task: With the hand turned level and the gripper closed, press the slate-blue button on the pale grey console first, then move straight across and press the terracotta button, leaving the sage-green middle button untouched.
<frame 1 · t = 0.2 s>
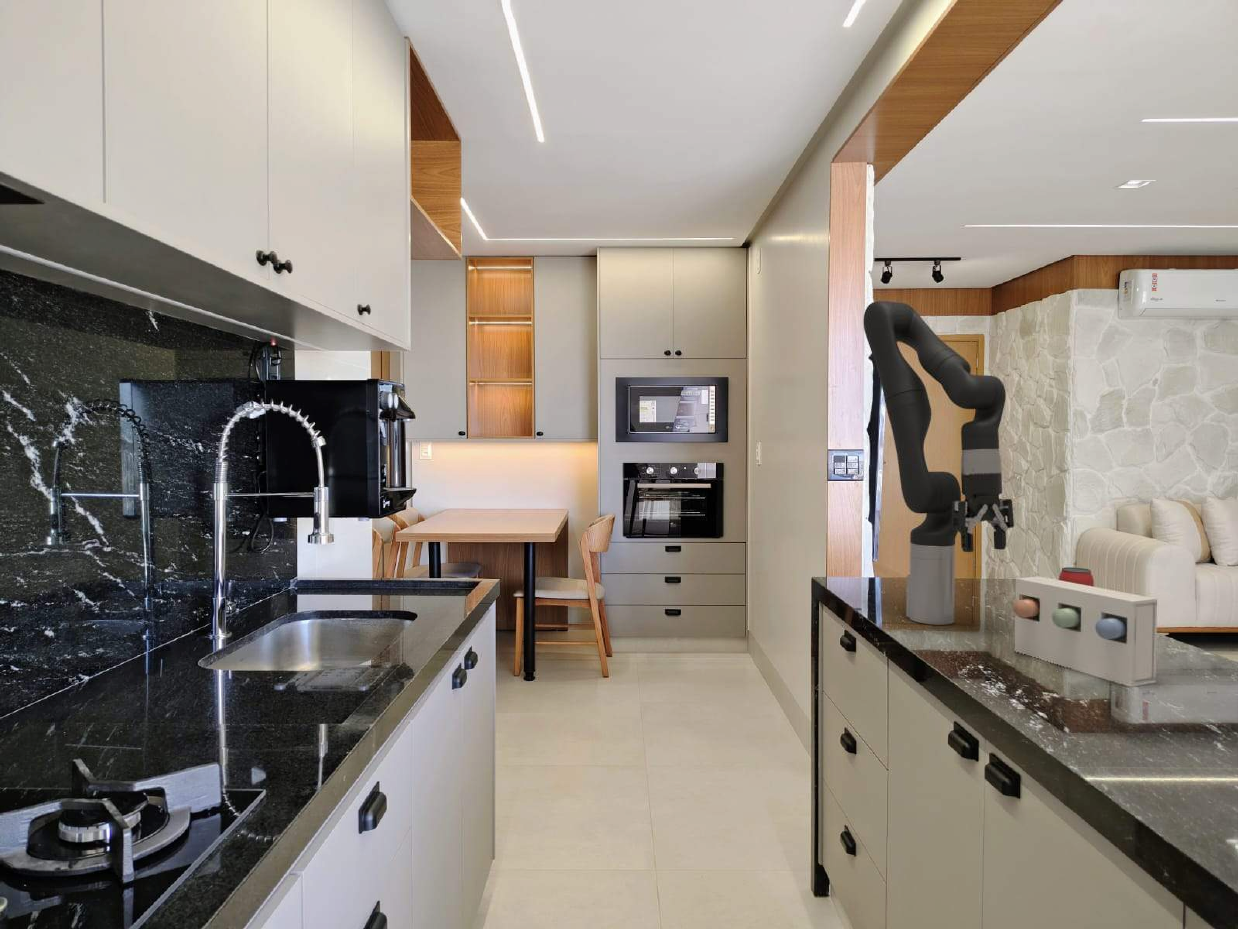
hand: (984, 550, 154), 18 cm above the worktop, tool pointing down, fingers open, 8 cm apart
console: (1080, 666, 133), on the worktop
terracotta button: (1027, 608, 139), point 9 cm above the worktop, slide at 0.0 cm
beer can: (1075, 624, 164), on the worktop
sage button: (1067, 617, 131), point 9 cm above the worktop, slide at 0.0 cm
blue button: (1112, 628, 124), point 9 cm above the worktop, slide at 0.0 cm
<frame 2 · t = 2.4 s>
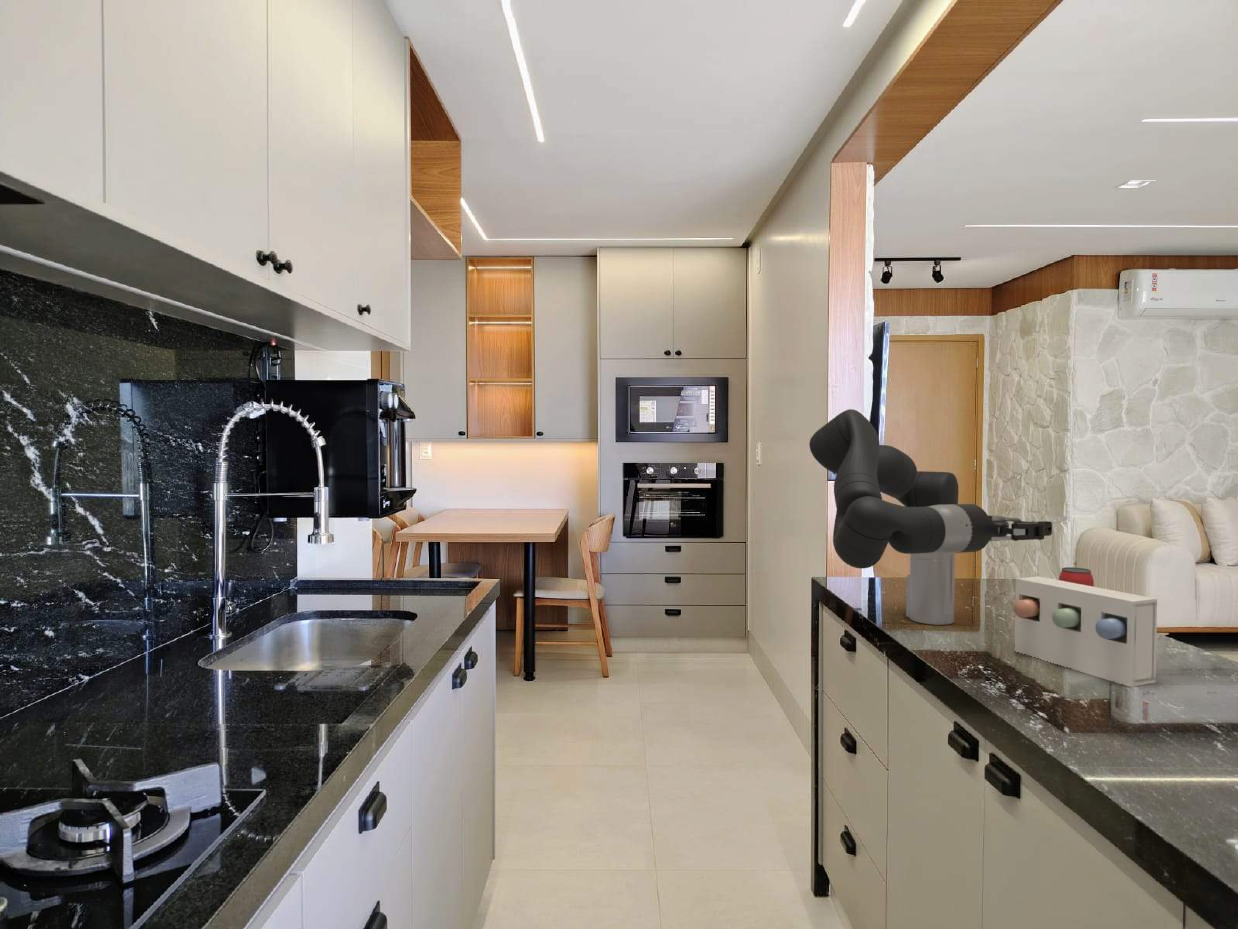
hand: (1026, 525, 121), 26 cm above the worktop, tool horizontal, fingers open, 8 cm apart
nothing on the worktop moved.
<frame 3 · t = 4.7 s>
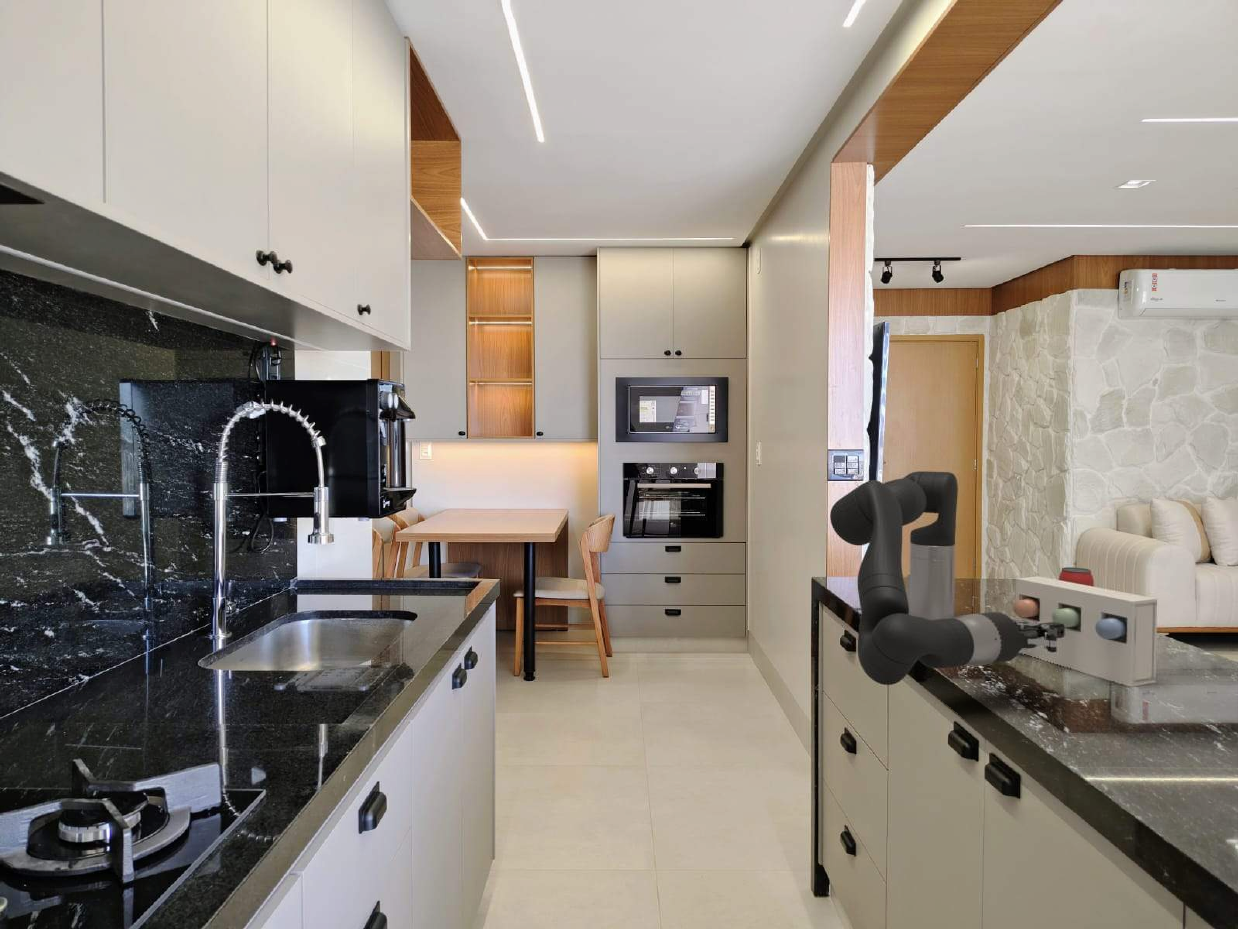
hand: (1060, 629, 120), 10 cm above the worktop, tool horizontal, fingers closed
nothing on the worktop moved.
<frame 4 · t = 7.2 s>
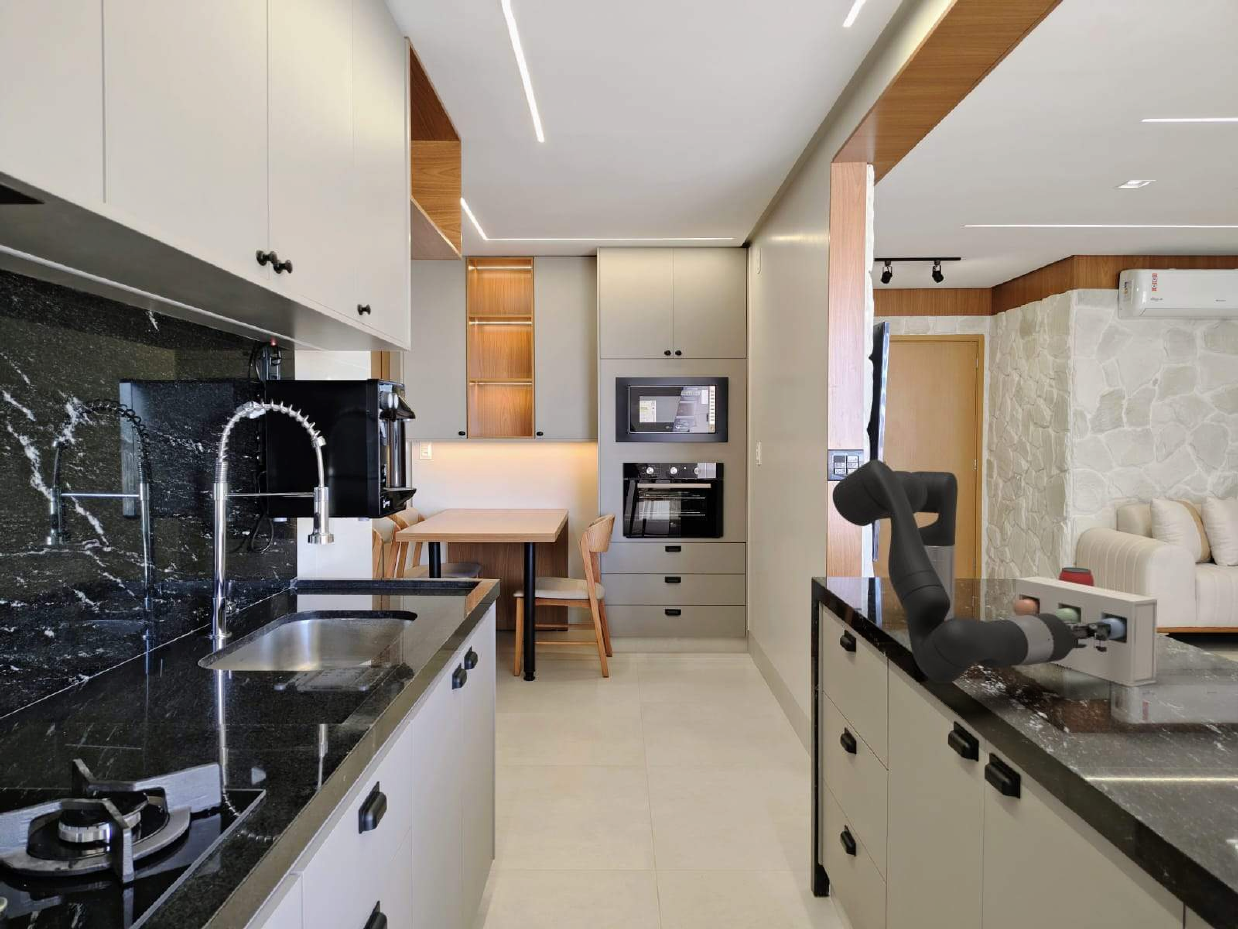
hand: (1106, 629, 124), 9 cm above the worktop, tool horizontal, fingers closed
blue button: (1114, 628, 124), point 9 cm above the worktop, slide at 0.4 cm, touching gripper
everything else where it was.
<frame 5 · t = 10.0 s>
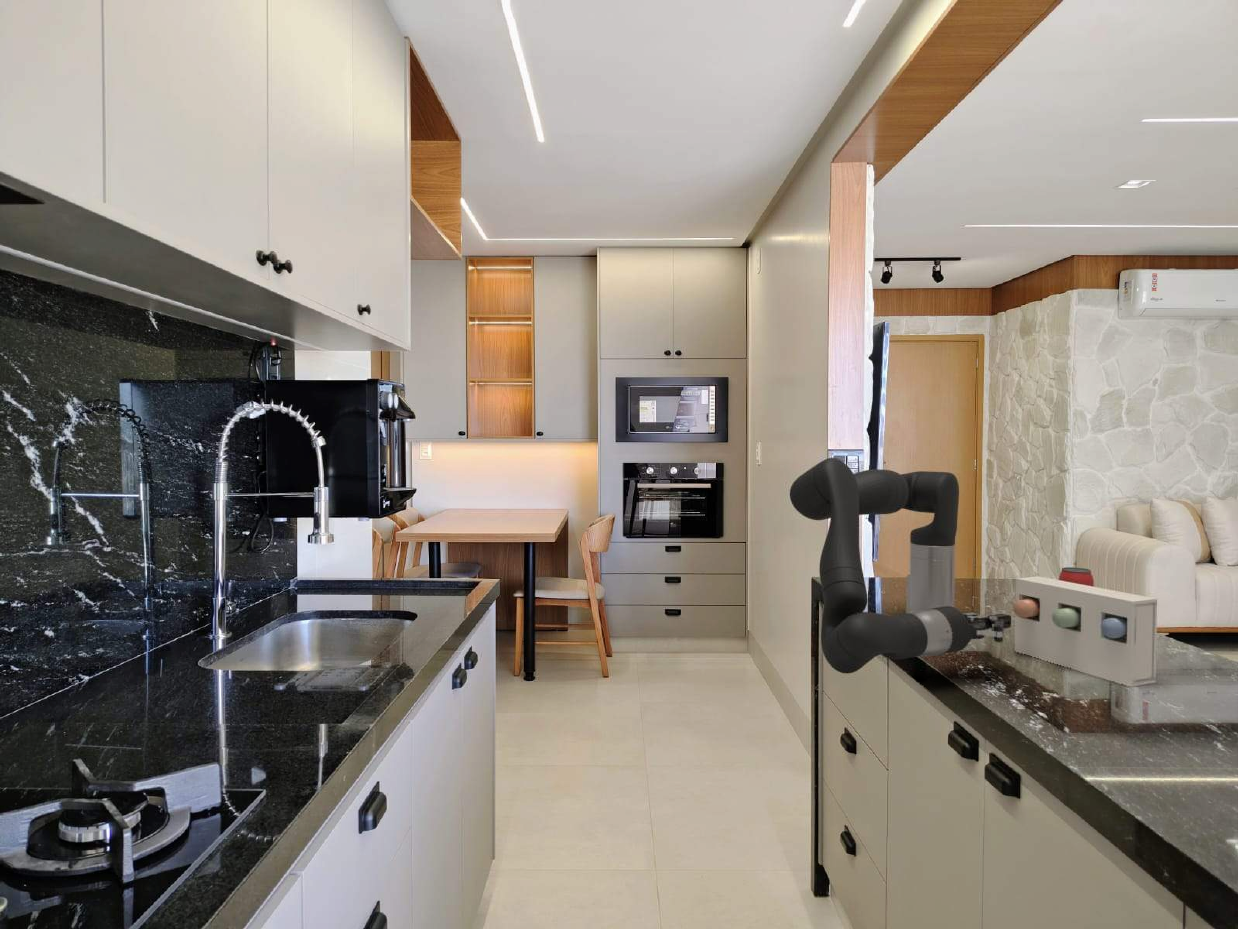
hand: (1007, 620, 131), 9 cm above the worktop, tool horizontal, fingers closed
blue button: (1117, 627, 124), point 9 cm above the worktop, slide at 1.3 cm
everything else where it was.
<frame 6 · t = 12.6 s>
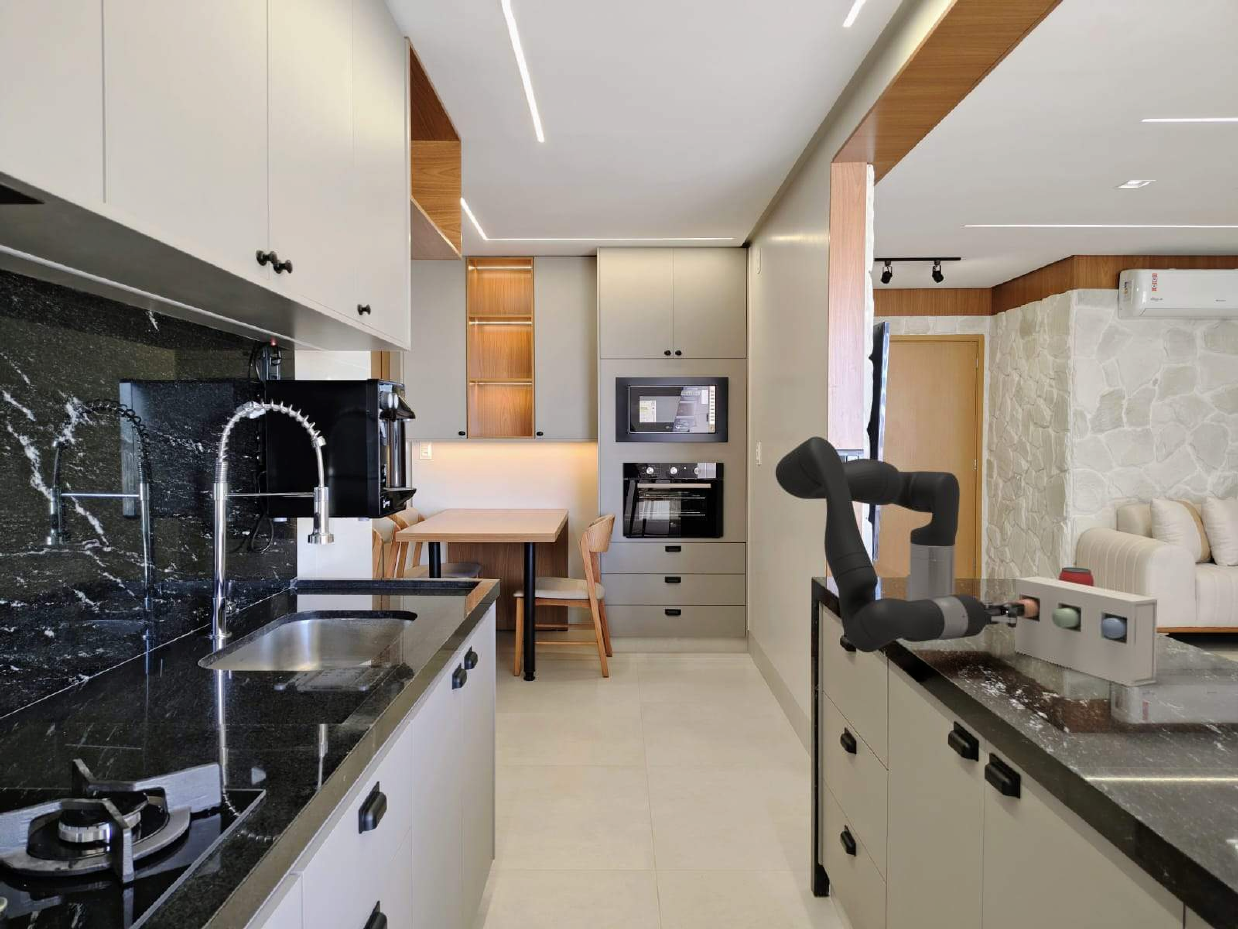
hand: (1021, 608, 138), 9 cm above the worktop, tool horizontal, fingers closed
terracotta button: (1028, 608, 139), point 9 cm above the worktop, slide at 0.2 cm, touching gripper
everything else where it was.
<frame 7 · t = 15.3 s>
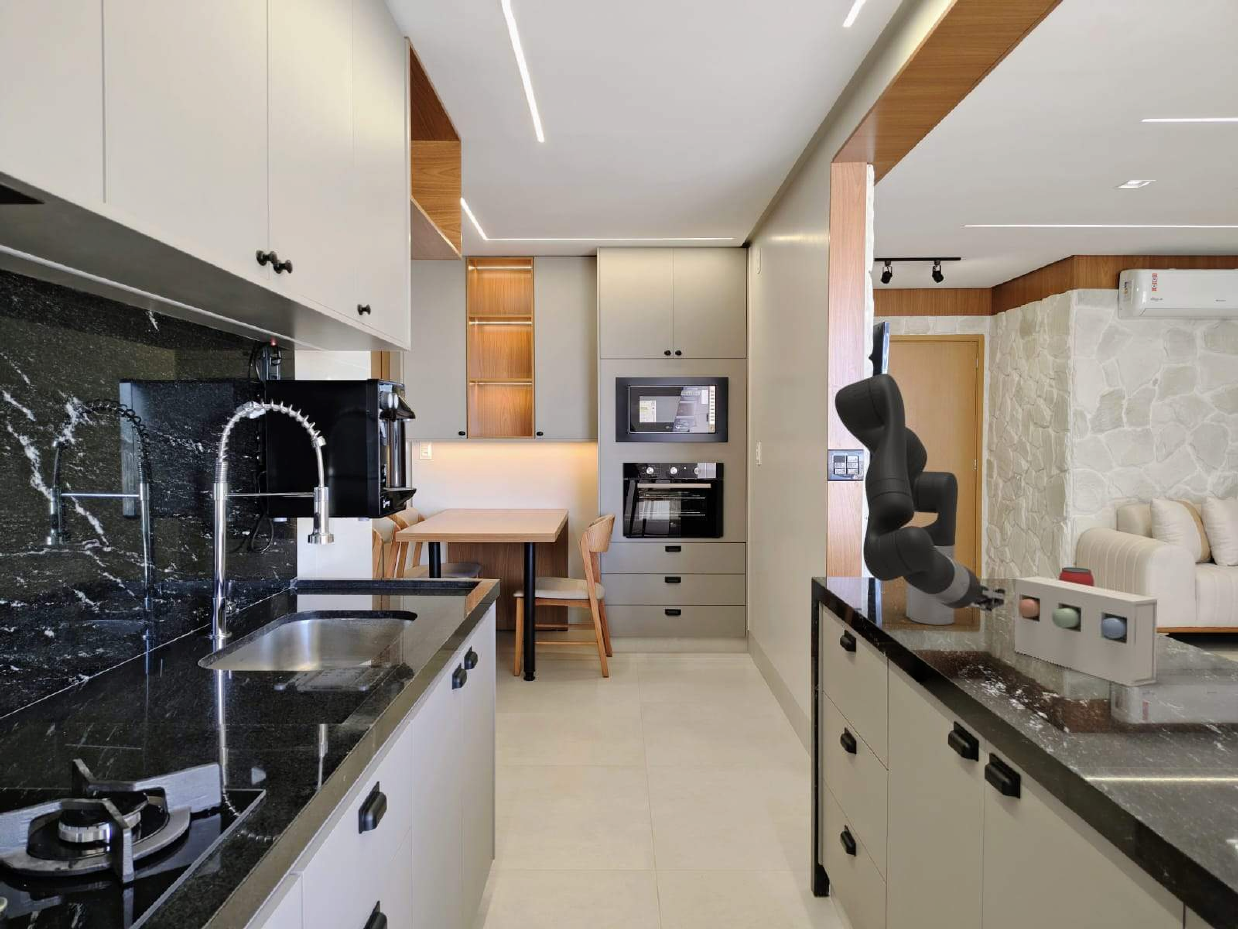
hand: (988, 605, 137), 10 cm above the worktop, tool tilted 70°, fingers closed
terracotta button: (1032, 607, 139), point 9 cm above the worktop, slide at 1.3 cm
everything else where it was.
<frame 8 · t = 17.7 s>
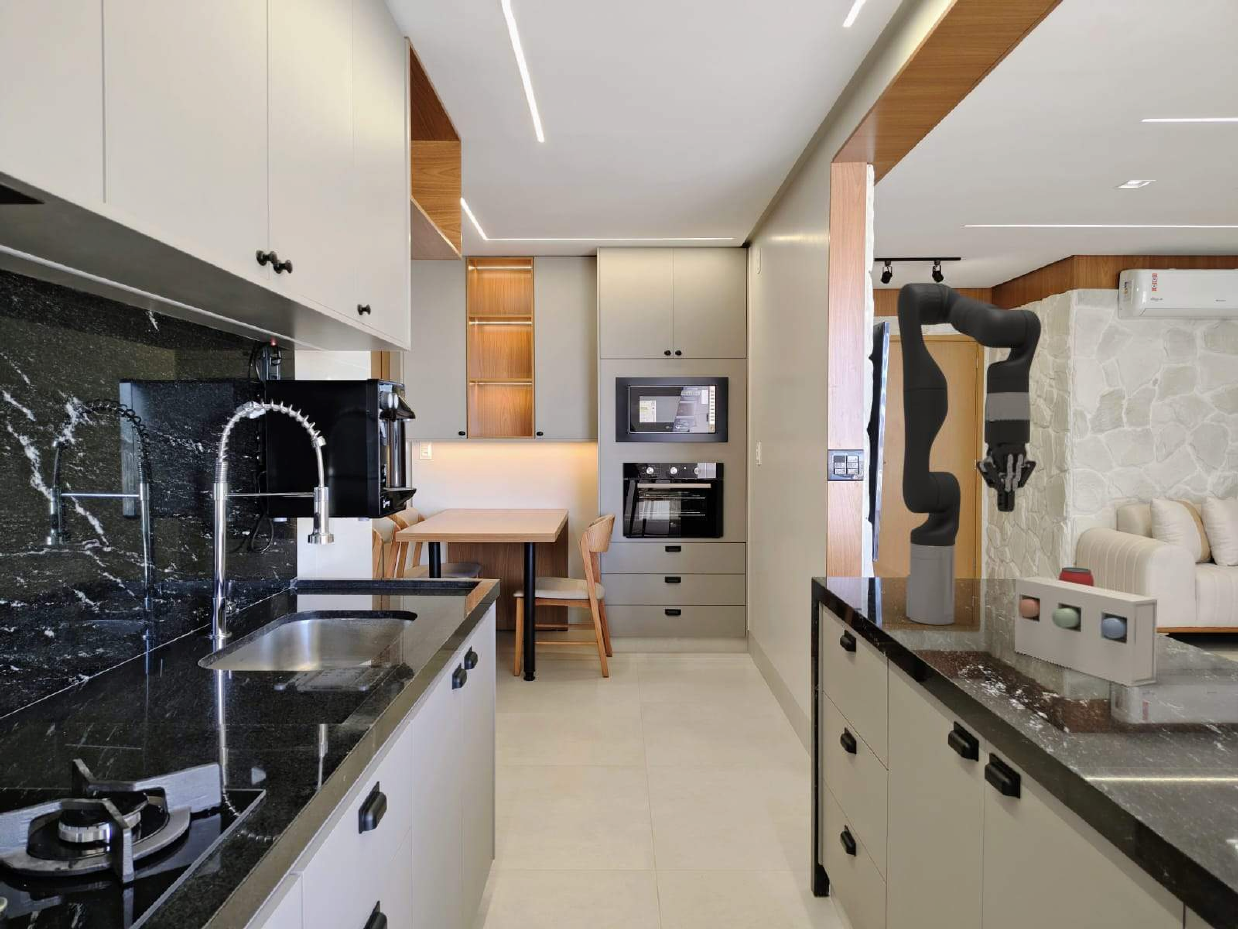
hand: (1005, 511, 139), 27 cm above the worktop, tool pointing down, fingers closed
nothing on the worktop moved.
at the end: blue button slide at 1.3 cm; terracotta button slide at 1.3 cm; sage button slide at 0.0 cm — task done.
